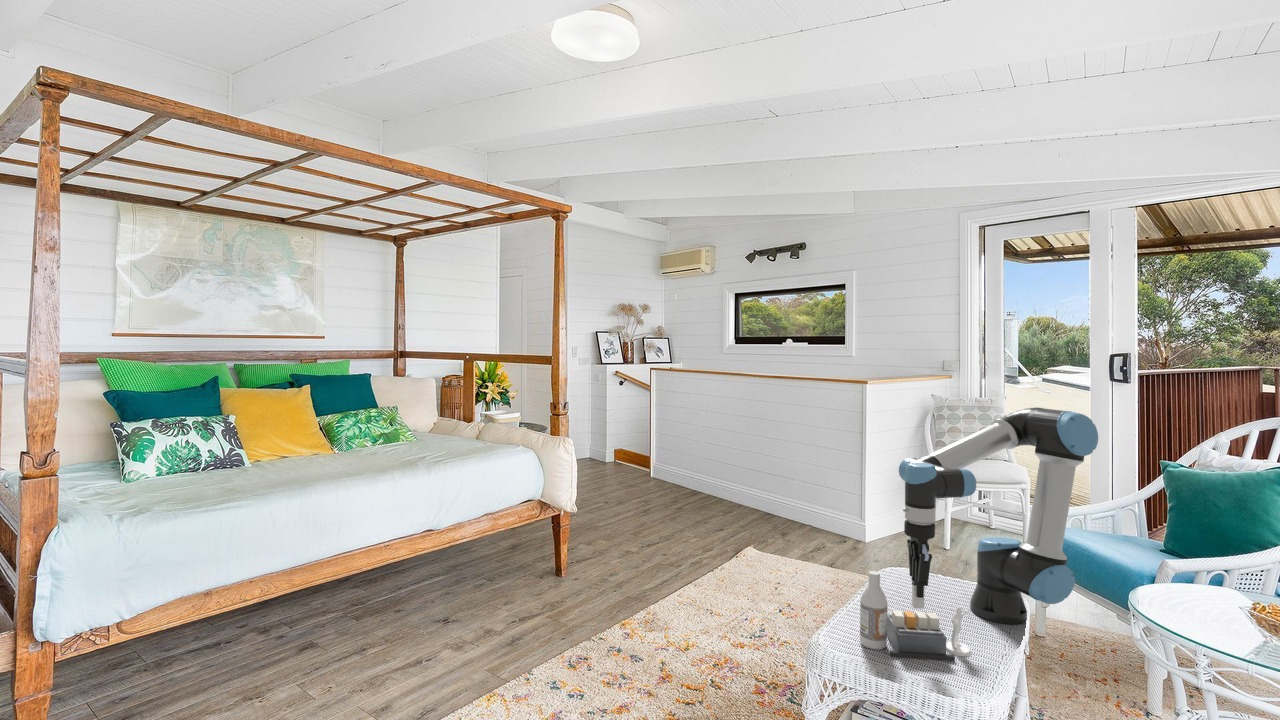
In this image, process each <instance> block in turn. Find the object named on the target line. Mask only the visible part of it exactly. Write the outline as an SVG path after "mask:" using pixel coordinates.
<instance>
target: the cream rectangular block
mask: <svg viewBox="0 0 1280 720" xmlns="http://www.w3.org/2000/svg"><path fill="white" fill-rule="evenodd" d="M925 615H926V617H927V618H928V622H927V625H928V626H929V628H930V629H938V630H939V628H940V618H939V616H938V615H937V614H936V612H926V614H925Z"/></svg>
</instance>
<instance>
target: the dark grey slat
mask: <svg viewBox="0 0 1280 720" xmlns="http://www.w3.org/2000/svg"><path fill="white" fill-rule="evenodd" d="M889 656H890V657H891V658H900V659H913V660H914V659H915V660H928V661H941V662H942V661H944V662H955V661H956V657H955V656H956V655H953V654H950V653H946V655H935V654H920V653H906V652H898V651H895V650H892V649H890V650H889Z"/></svg>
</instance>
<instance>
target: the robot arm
mask: <svg viewBox="0 0 1280 720" xmlns="http://www.w3.org/2000/svg"><path fill="white" fill-rule="evenodd" d="M1098 443H1099V432H1098V428H1097V427H1096V424H1095V423H1094V422H1093V419H1091V418H1090V417H1088V416H1087V415H1086V414H1083V413H1079V412H1075V411H1071V410H1070V411H1069V410H1060V409H1052V408H1051V409H1050V408H1043V407H1028V408H1024V409H1023V408H1022V409H1019V410H1016V411H1013V412H1010V413H1008V414H1005V415H1003V416H1000V417H999V418H996V419H994V420H993V421H992V422H991V423H990V425H989V426H986V427H985V428H982V429H980V430H978V431H976V432H975V433H972V434H970V435H968V436H965V437H964V438H961V439H960V440H957V441H955V442H952V443H951V444H948V445H946V446H944V447H942V448H939V449H938V450H936V451H935V450H934V452H931V453H929V454H927V455H924V456H922V457H920V458H916V457H907V458H904V459H903V460H902V461H901V462H900V464H899V466H898V475H899V477H900V478H901V480H903V481H904V507H903V508H902V512H904V518H905V520H904V528H903V531H904V534H905V535H906V536H908V537H910V538H909V539H907V540H906V543H907V548H908V550H907V551H908V569H909V577H910V579H911V584H912V585H911V593H912V594H911V607H912V608H913V609H919V610H921V609H923V610H924V609H925V587H928V586H929V580H930V579H929V578H930V571H931V570H930V569H931V562H932V559H933V554H931V553H929V551H930V545H929V542H928V540H930V539H932V540H933V538H935V536H936V524H935V522H936V519H937V518H936V510H937V508H936V503H937V499H938V500H939V499H950V498H951V499H952V498H954V499H955V498H963V497H970V496H972V495H974V494H975V492H976V489H977V479H976V476H975V475H974V473H973V472H972V471H971V470H969V469H966V468H967V467H969V466H970V465H972V464H974V463H976V462H978V461H981V460H983V459H986V458H988V457H989V456H991V455H993V454H995V453H998V452H1000V451H1002V450H1004V449H1007V450H1012V449H1015V448H1017V447H1021V446H1032V447H1035V448H1034V454H1035V455H1036V457H1037V458H1038V460H1039V464H1038V470H1037V475H1036V480H1035V482H1036V483H1035V487H1034V494H1033V498H1032V499H1033V500H1032V505H1031V511H1030V516H1029V517H1030V519H1029V523H1028V524H1029V525H1028V528H1027V529H1028V530H1027V536H1026V541H1024V542H1022V541H1020V540H1018V539H1014V538H1010V537H1009V538H1008V537H1001V536H999V537H998V536H997V537H996V536H992V537H991V536H990V537H987V536H986V537H983V538H981V539H980V540H979V541H978V544H977V550H976V552H977V556H976V559H977V563H976V565H977V567H976V568H977V569H976V570H977V571H976V572H977V575H976V578H977V579H976V582H977V583H976V586H975V589H974V591H973V593H972V596H971V599H970V600H969V601H970V602H969V603H970V604H969V605H970V606H969V608H970V611H971V612H972V613H974V614H975V615H976V616H978V617H980V618H982V619H984V620H988V621H991V622H994V623H1000V624H1003V625H1004V624H1006V625H1018V624H1019V625H1020V624H1023V623H1026V622H1027V620H1028V610H1027V607H1026V605H1025V601H1024V598H1023V596H1022V594H1025V595H1026V596H1027V597H1028V596H1029V597H1030V598H1031V599H1033V600H1035V601H1039V602H1041V603H1044V604H1047V605H1056V604H1059V603H1062V602H1063V601H1064V600H1066V599H1067V598H1068V597H1069V596H1070V595H1071V593H1072V592H1073V590H1074V586H1075V580H1076V577H1075V575H1074V573H1073V571H1072V570H1071V569H1070V568H1069V567H1068V566H1067V563H1068V557H1067V555H1066V554H1065V553H1064V551H1063V547H1064V540H1065V536H1066V534H1065V533H1066V529H1067V523H1068V515H1069V510H1070V503H1071V499H1072V498H1071V497H1072V493H1073V486H1074V480H1075V474H1076V468H1077V467H1078V466H1079V465H1081V464H1083V463H1084V461H1085V457H1086V456H1089V455H1091V454H1093V452H1094V450H1096V449H1097V446H1098Z"/></svg>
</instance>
